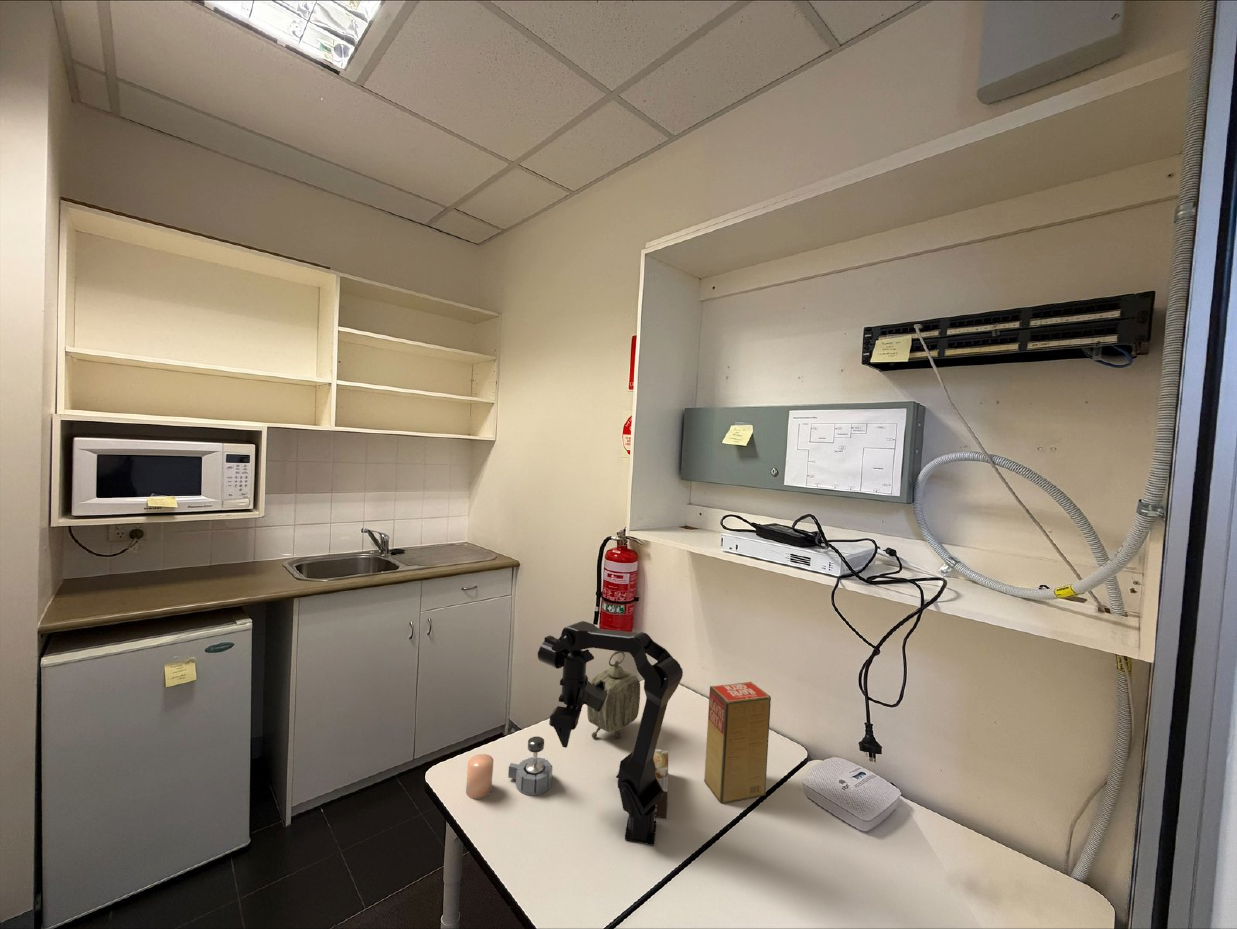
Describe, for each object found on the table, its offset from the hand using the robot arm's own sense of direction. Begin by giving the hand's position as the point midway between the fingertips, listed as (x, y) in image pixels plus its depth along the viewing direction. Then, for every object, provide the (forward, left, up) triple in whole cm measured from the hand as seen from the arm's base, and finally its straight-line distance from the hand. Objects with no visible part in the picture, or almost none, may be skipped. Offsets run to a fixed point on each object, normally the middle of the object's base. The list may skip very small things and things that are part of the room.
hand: (569, 736), depth 119 cm
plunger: (-1, +8, -9) cm, 12 cm away
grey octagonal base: (-1, +9, -13) cm, 16 cm away
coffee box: (+11, -20, -10) cm, 25 cm away
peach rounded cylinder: (-6, +20, -13) cm, 25 cm away
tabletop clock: (+25, -8, -13) cm, 29 cm away
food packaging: (+10, -42, -13) cm, 45 cm away
